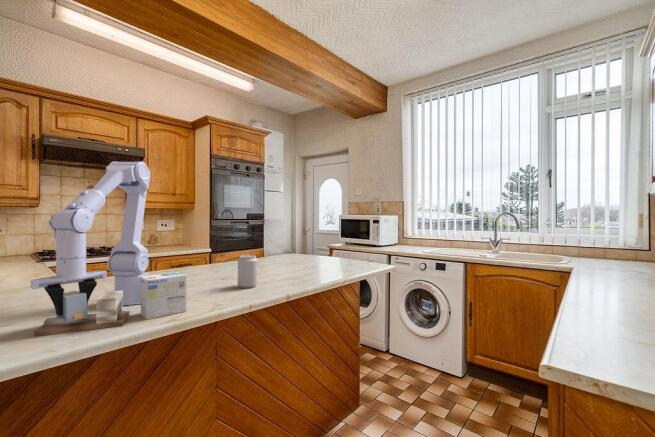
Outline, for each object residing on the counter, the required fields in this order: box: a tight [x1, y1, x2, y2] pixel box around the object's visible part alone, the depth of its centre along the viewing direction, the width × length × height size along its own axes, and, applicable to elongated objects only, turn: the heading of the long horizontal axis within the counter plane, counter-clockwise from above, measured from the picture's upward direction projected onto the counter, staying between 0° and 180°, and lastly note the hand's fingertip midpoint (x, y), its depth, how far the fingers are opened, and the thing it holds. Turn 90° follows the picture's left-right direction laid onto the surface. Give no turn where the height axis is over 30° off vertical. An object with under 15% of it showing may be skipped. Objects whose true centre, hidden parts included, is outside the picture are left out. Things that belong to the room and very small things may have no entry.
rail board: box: [33, 290, 131, 337], centre depth 77 cm, size 17×9×7 cm, turn 114°
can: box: [237, 254, 259, 289], centre depth 119 cm, size 8×8×12 cm
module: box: [54, 290, 89, 323], centre depth 76 cm, size 4×9×6 cm, turn 57°
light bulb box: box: [140, 271, 188, 320], centre depth 87 cm, size 11×7×11 cm, turn 135°
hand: (71, 312), depth 76 cm, fingers closed on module, 4 cm apart
